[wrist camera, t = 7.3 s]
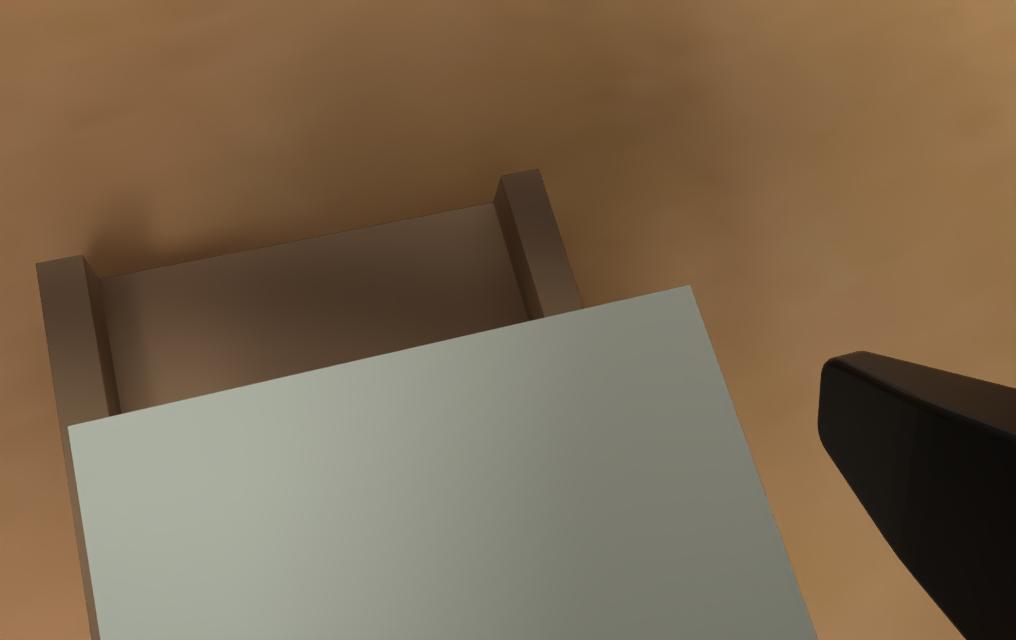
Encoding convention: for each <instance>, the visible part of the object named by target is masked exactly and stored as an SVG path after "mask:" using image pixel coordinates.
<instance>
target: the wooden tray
mask: <svg viewBox="0 0 1016 640" xmlns="http://www.w3.org/2000/svg"><path fill="white" fill-rule="evenodd" d="M36 269H37V276H38V283H39V289H40V296H41V303H42V310H43V316H44V323H45V330H46V337H47V343H48V350H49V357H50V363H51V370H52V377H53V384H54V390H55V397H56V404H57V411H58V417H59V424H60V431H61V438H62V444H63V451H64V458H65V464H66V471H67V478H68V485H69V491H70V498H71V505H72V512H73V518H74V525H75V532H76V538H77V545H78V552H79V559H80V565H81V572H82V579H83V586H84V592H85V599H86V606H87V612H88V619H89V626H90V633H91V639H92V640H100V634H99V627H98V621H97V614H96V608H95V601H94V595H93V588H92V582H91V575H90V569H89V562H88V556H87V549H86V543H85V536H84V530H83V523H82V517H81V510H80V504H79V497H78V491H77V484H76V477H75V471H74V464H73V458H72V451H71V445H70V438H69V432H68V426H71V425H76V424H80V423H85V422H89V421H93V420H98V419H102V418H107V417H111V416H115V415H120V414H124V413H128V412H133V411H137V410H142V409H146V408H150V407H155V406H159V405H164V404H168V403H172V402H177V401H181V400H186V399H190V398H194V397H199V396H203V395H208V394H212V393H216V392H221V391H225V390H229V389H234V388H238V387H243V386H247V385H251V384H256V383H260V382H265V381H269V380H273V379H278V378H282V377H287V376H291V375H295V374H300V373H304V372H308V371H313V370H317V369H322V368H326V367H330V366H335V365H339V364H344V363H348V362H352V361H357V360H361V359H366V358H370V357H374V356H379V355H383V354H387V353H392V352H396V351H401V350H405V349H409V348H414V347H418V346H423V345H427V344H431V343H436V342H440V341H445V340H449V339H453V338H458V337H462V336H466V335H471V334H475V333H480V332H484V331H488V330H493V329H497V328H502V327H506V326H510V325H515V324H519V323H524V322H528V321H532V320H537V319H541V318H546V317H550V316H554V315H559V314H563V313H567V312H572V311H576V310H581V309H584V308H583V305H582V302H581V299H580V296H579V292H578V289H577V286H576V283H575V280H574V277H573V274H572V271H571V268H570V264H569V261H568V258H567V255H566V252H565V249H564V246H563V243H562V240H561V236H560V233H559V230H558V227H557V224H556V221H555V218H554V215H553V212H552V208H551V205H550V202H549V199H548V196H547V193H546V190H545V187H544V184H543V180H542V177H541V174H540V171H539V169H535V170H530V171H525V172H519V173H514V174H509V175H503V176H501V178H500V181H499V185H498V188H497V191H496V195H495V198H494V202H493V203H488V204H483V205H477V206H472V207H467V208H462V209H457V210H452V211H447V212H442V213H436V214H431V215H426V216H421V217H416V218H411V219H406V220H400V221H395V222H390V223H385V224H380V225H375V226H370V227H364V228H359V229H354V230H349V231H344V232H339V233H334V234H328V235H323V236H318V237H313V238H308V239H303V240H298V241H292V242H287V243H282V244H277V245H272V246H267V247H262V248H257V249H251V250H246V251H241V252H236V253H231V254H226V255H221V256H215V257H210V258H205V259H200V260H195V261H190V262H185V263H179V264H174V265H169V266H164V267H159V268H154V269H149V270H143V271H138V272H133V273H128V274H123V275H118V276H113V277H107V278H102V279H98V277H97V276H96V274H95V273H94V271H93V270H92V268H91V267H90V265H89V264H88V262H87V261H86V260H85V258H84V257H83V255H79V256H74V257H68V258H63V259H58V260H52V261H47V262H42V263H36Z"/></svg>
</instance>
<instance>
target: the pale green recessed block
mask: <svg viewBox="0 0 1016 640" xmlns="http://www.w3.org/2000/svg"><path fill="white" fill-rule="evenodd" d="M68 432H69V438H70V445H71V451H72V458H73V464H74V471H75V477H76V484H77V491H78V497H79V504H80V510H81V517H82V523H83V530H84V536H85V543H86V549H87V556H88V562H89V569H90V575H91V582H92V588H93V595H94V601H95V608H96V614H97V621H98V627H99V634H100V640H818V638H817V635H816V633H815V630H814V627H813V624H812V621H811V619H810V616H809V613H808V610H807V608H806V605H805V602H804V599H803V597H802V594H801V591H800V588H799V585H798V583H797V580H796V577H795V574H794V572H793V569H792V566H791V563H790V561H789V558H788V555H787V552H786V549H785V547H784V544H783V541H782V538H781V536H780V533H779V530H778V527H777V524H776V522H775V519H774V516H773V513H772V511H771V508H770V505H769V502H768V500H767V497H766V494H765V491H764V488H763V486H762V483H761V480H760V477H759V475H758V472H757V469H756V466H755V463H754V461H753V458H752V455H751V452H750V450H749V447H748V444H747V441H746V439H745V436H744V433H743V430H742V427H741V425H740V422H739V419H738V416H737V414H736V411H735V408H734V405H733V402H732V400H731V397H730V394H729V391H728V389H727V386H726V383H725V380H724V378H723V375H722V372H721V369H720V366H719V364H718V361H717V358H716V355H715V353H714V350H713V347H712V344H711V341H710V339H709V336H708V333H707V330H706V328H705V325H704V322H703V319H702V317H701V314H700V311H699V308H698V305H697V303H696V300H695V297H694V294H693V292H692V289H691V286H690V285H686V286H682V287H677V288H673V289H668V290H664V291H660V292H655V293H651V294H646V295H642V296H638V297H633V298H629V299H625V300H620V301H616V302H611V303H607V304H603V305H598V306H594V307H589V308H585V309H581V310H576V311H572V312H567V313H563V314H559V315H554V316H550V317H546V318H541V319H537V320H532V321H528V322H524V323H519V324H515V325H510V326H506V327H502V328H497V329H493V330H488V331H484V332H480V333H475V334H471V335H466V336H462V337H458V338H453V339H449V340H445V341H440V342H436V343H431V344H427V345H423V346H418V347H414V348H409V349H405V350H401V351H396V352H392V353H387V354H383V355H379V356H374V357H370V358H366V359H361V360H357V361H352V362H348V363H344V364H339V365H335V366H330V367H326V368H322V369H317V370H313V371H308V372H304V373H300V374H295V375H291V376H287V377H282V378H278V379H273V380H269V381H265V382H260V383H256V384H251V385H247V386H243V387H238V388H234V389H229V390H225V391H221V392H216V393H212V394H208V395H203V396H199V397H194V398H190V399H186V400H181V401H177V402H172V403H168V404H164V405H159V406H155V407H150V408H146V409H142V410H137V411H133V412H128V413H124V414H120V415H115V416H111V417H107V418H102V419H98V420H93V421H89V422H85V423H80V424H76V425H71V426H68Z"/></svg>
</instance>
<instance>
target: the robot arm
mask: <svg viewBox="0 0 1016 640" xmlns="http://www.w3.org/2000/svg"><path fill="white" fill-rule="evenodd" d="M818 432H819V436H820V440H821V442H822V444H823V446H824V448H825V450H826V451H827V453H828V454H829V456H830V457H831V459H832V460H833V462H834V463H835V465H836V466H837V468H838V469H839V471H840V472H841V474H842V475H843V477H844V478H845V480H846V481H847V483H848V484H849V486H850V487H851V489H852V490H853V492H854V493H855V495H856V496H857V498H858V499H859V501H860V502H861V504H862V505H863V507H864V508H865V510H866V511H867V513H868V514H869V516H870V517H871V519H872V520H873V522H874V523H875V525H876V526H877V528H878V529H879V531H880V532H881V534H882V535H883V537H884V538H885V539H886V541H887V542H888V544H889V545H890V546H891V548H892V549H893V551H894V552H895V553H896V555H897V556H898V558H899V559H900V560H901V561H902V563H903V564H904V565H905V566H906V568H907V569H908V570H909V572H910V573H911V574H912V575H913V577H914V578H915V579H916V580H917V581H918V583H919V584H920V585H921V586H922V587H923V589H924V590H925V591H926V592H927V593H928V595H929V596H930V597H931V598H932V599H933V601H934V602H935V603H936V604H937V605H938V607H939V608H940V609H941V610H942V612H943V613H944V614H945V615H946V616H947V618H948V619H949V620H950V621H951V622H952V624H953V625H954V626H955V627H956V628H957V630H958V631H959V632H960V633H961V634H962V636H963V637H964V638H965V639H966V640H1016V388H1012V387H1008V386H1004V385H1000V384H996V383H992V382H988V381H983V380H979V379H975V378H971V377H967V376H963V375H959V374H955V373H951V372H947V371H943V370H939V369H935V368H931V367H927V366H923V365H919V364H915V363H911V362H907V361H903V360H899V359H895V358H890V357H886V356H882V355H878V354H874V353H870V352H866V351H857V352H853V353H849V354H845V355H841V356H838V357H834V358H830V359H829V360H828V361H827V362H826V363H825V364H824V366H823V368H822V372H821V382H820V396H819V410H818Z"/></svg>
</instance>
